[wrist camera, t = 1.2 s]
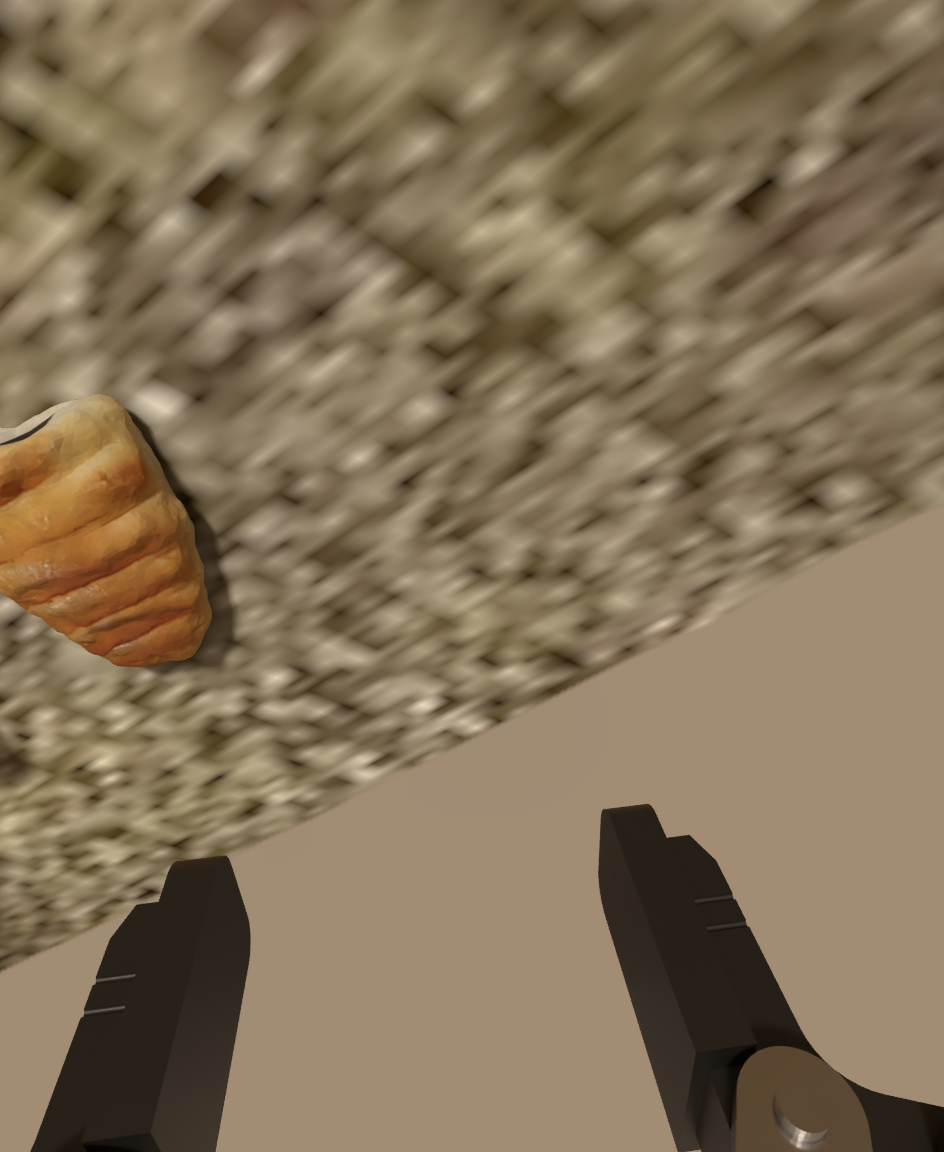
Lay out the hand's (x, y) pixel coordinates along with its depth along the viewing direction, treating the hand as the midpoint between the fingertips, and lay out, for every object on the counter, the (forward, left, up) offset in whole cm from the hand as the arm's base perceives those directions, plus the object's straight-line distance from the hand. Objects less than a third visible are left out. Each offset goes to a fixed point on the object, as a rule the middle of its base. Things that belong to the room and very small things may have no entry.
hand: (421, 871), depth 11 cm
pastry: (0, -10, -16) cm, 19 cm away
